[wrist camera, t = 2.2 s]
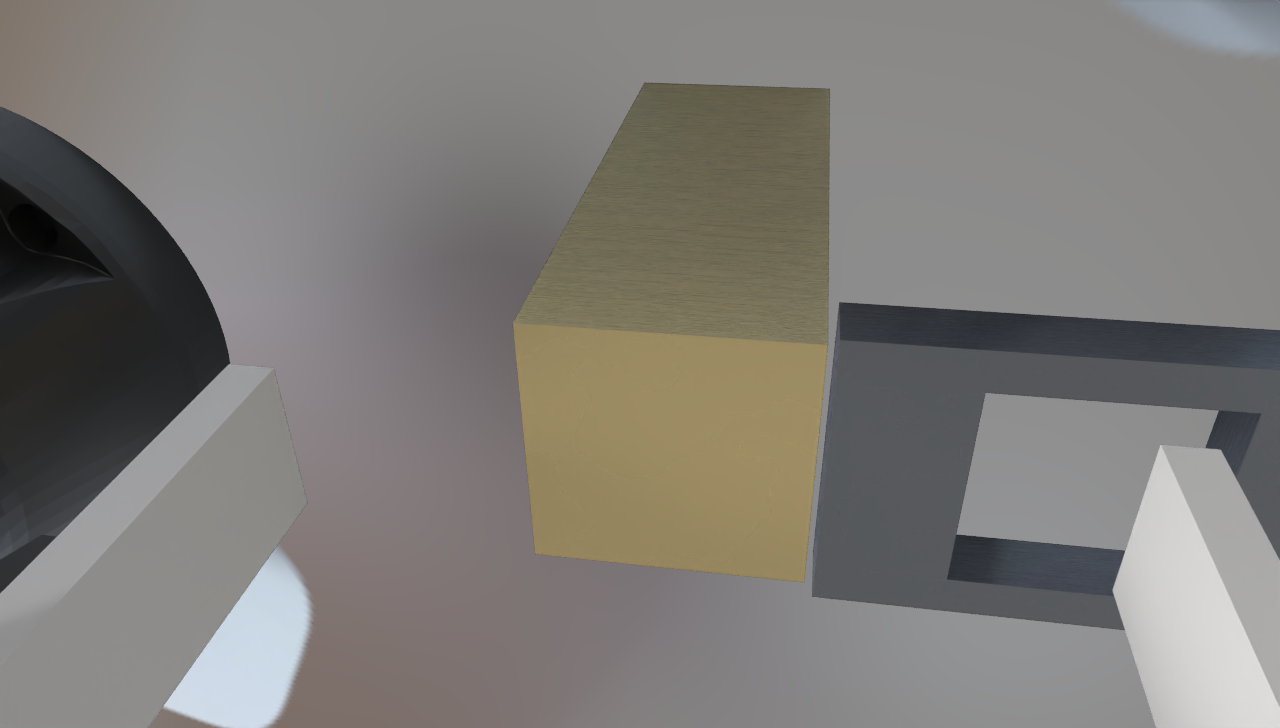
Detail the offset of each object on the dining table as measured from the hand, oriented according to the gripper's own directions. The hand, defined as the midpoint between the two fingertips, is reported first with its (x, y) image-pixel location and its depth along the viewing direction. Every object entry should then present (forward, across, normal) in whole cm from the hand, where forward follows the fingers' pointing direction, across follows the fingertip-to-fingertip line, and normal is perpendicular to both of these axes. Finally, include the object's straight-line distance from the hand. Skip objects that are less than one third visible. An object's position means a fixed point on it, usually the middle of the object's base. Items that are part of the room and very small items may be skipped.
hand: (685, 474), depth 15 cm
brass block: (+12, 0, 0) cm, 12 cm away
